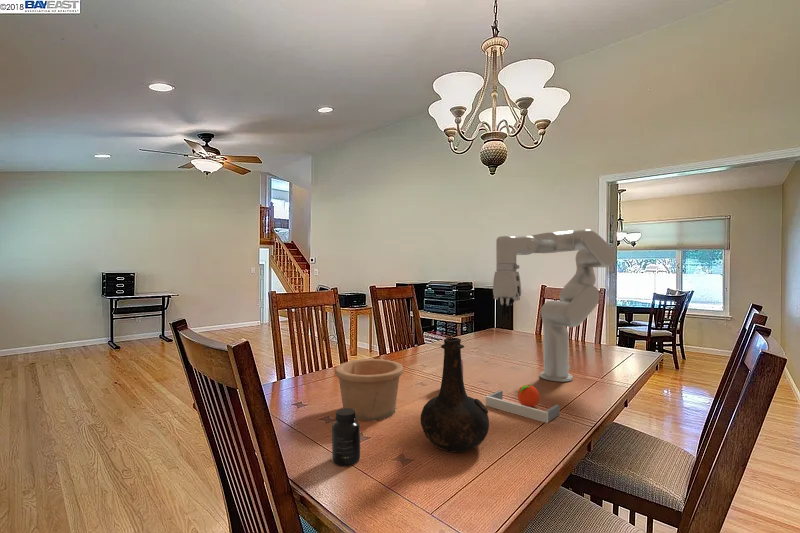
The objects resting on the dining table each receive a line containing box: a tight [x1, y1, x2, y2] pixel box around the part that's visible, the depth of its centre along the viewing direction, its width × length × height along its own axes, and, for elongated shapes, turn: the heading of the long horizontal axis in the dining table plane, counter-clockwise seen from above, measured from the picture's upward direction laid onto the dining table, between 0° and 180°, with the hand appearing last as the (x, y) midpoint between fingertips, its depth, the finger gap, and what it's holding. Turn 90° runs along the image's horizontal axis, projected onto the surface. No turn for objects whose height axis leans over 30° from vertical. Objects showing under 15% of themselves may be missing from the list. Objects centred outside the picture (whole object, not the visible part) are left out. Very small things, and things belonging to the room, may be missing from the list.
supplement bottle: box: [331, 407, 361, 467], centre depth 98 cm, size 7×7×12 cm
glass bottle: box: [420, 337, 490, 453], centre depth 106 cm, size 18×18×28 cm
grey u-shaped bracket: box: [485, 389, 560, 424], centre depth 130 cm, size 9×21×3 cm, turn 45°
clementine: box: [517, 384, 540, 408], centre depth 133 cm, size 8×7×7 cm
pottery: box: [334, 358, 404, 422], centre depth 130 cm, size 22×22×14 cm
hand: (506, 315), depth 156 cm, fingers closed
